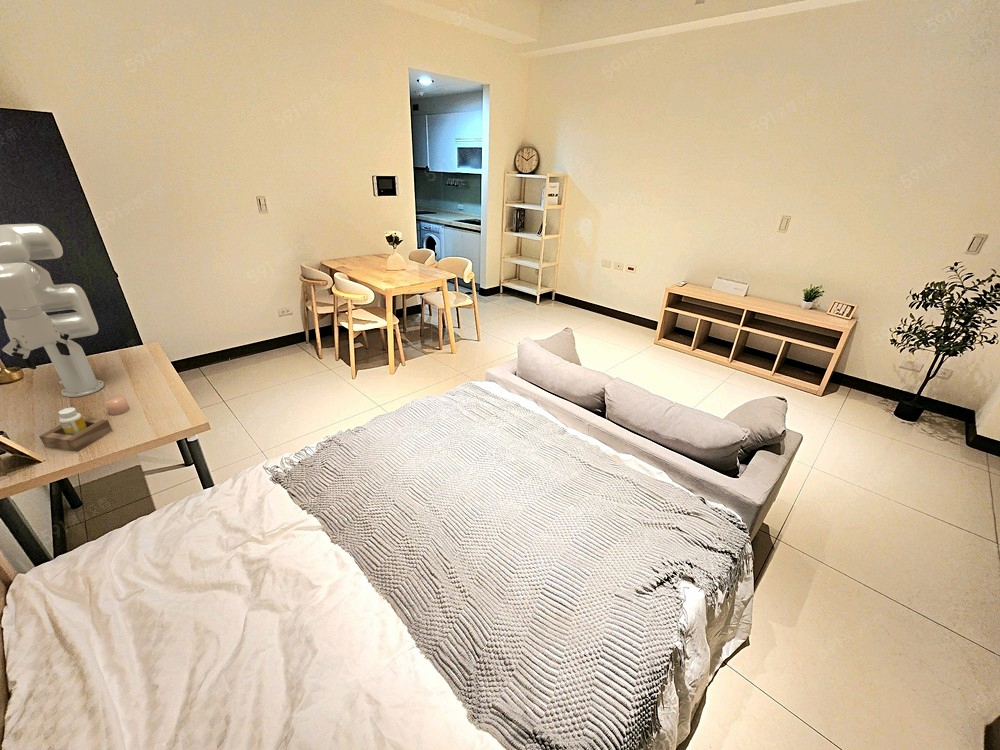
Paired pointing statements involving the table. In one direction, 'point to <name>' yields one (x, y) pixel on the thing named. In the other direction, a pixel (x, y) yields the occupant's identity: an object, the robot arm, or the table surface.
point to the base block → (76, 435)
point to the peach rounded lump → (116, 405)
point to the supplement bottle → (71, 421)
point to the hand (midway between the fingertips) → (49, 361)
